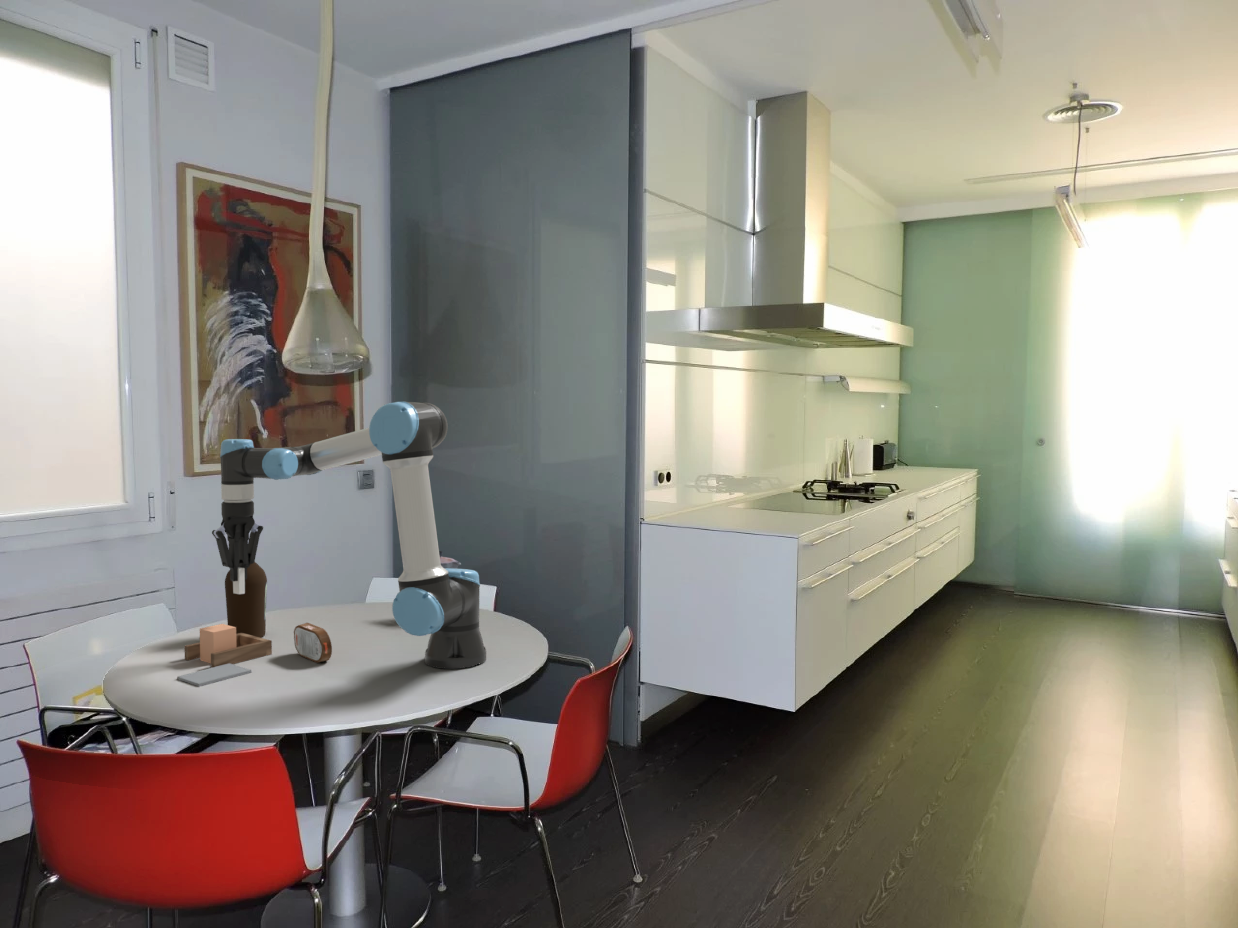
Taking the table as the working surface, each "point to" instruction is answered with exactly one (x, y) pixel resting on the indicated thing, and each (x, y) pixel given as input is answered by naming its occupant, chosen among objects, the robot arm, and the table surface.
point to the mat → (213, 674)
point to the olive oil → (248, 603)
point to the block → (216, 640)
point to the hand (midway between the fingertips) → (239, 593)
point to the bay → (234, 650)
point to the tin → (312, 642)
